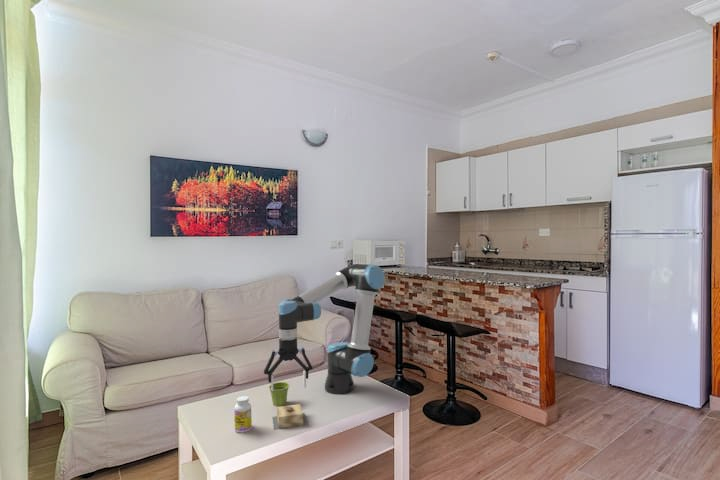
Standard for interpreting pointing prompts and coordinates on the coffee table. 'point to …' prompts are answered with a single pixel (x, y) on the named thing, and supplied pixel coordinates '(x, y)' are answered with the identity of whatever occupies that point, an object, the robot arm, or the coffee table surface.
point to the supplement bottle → (243, 414)
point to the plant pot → (279, 393)
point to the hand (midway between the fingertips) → (288, 388)
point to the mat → (275, 425)
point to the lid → (289, 415)
